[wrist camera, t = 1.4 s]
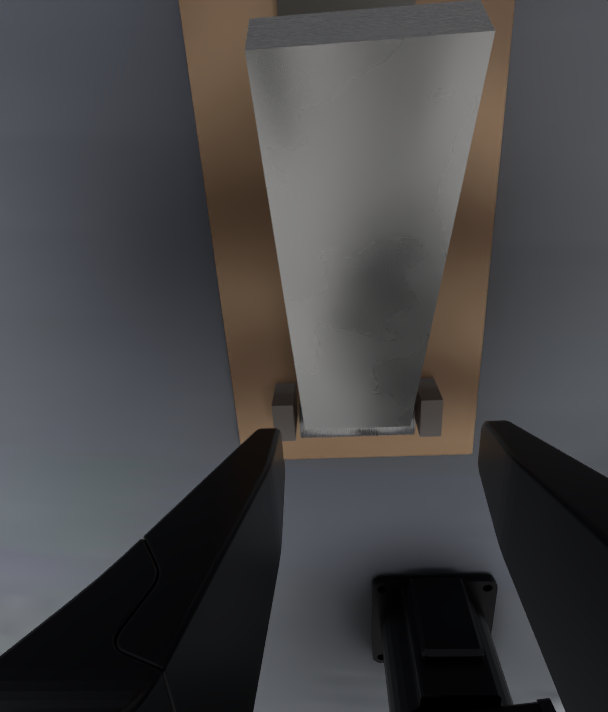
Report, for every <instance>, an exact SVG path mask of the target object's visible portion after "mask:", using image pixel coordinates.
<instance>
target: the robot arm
mask: <svg viewBox="0 0 608 712" xmlns="http://www.w3.org/2000/svg"><path fill="white" fill-rule="evenodd" d="M478 467H479V473H480V477H481V481H482V484H483V488H484V492H485V496H486V499H487V503H488V507H489V510H490V514H491V518H492V521H493V525H494V529H495V533H496V536H497V540H498V543H499V546H500V549H501V552H502V555H503V558H504V560H505V563H506V565H507V568H508V570H509V573H510V575H511V578H512V580H513V583H514V585H515V588H516V590H517V593H518V595H519V598H520V600H521V603H522V605H523V608H524V610H525V612H526V615H527V617H528V620H529V622H530V625H531V627H532V630H533V632H534V635H535V637H536V640H537V642H538V645H539V647H540V650H541V652H542V655H543V657H544V660H545V662H546V665H547V667H548V669H549V672H550V674H551V677H552V679H553V682H554V684H555V687H556V689H557V692H558V694H559V697H560V699H561V702H562V704H563V707H564V709H565V712H608V478H607V477H605V476H604V475H602V474H600V473H598V472H597V471H595V470H593V469H591V468H590V467H588V466H586V465H584V464H583V463H581V462H579V461H577V460H576V459H574V458H572V457H570V456H569V455H567V454H565V453H563V452H562V451H560V450H558V449H556V448H555V447H553V446H551V445H549V444H548V443H546V442H544V441H542V440H541V439H539V438H537V437H535V436H534V435H532V434H530V433H528V432H527V431H525V430H523V429H521V428H520V427H518V426H516V425H514V424H513V423H511V422H509V421H505V420H502V421H486V422H484V423H483V425H482V428H481V437H480V447H479V456H478ZM284 484H285V465H284V455H283V445H282V435H281V431H280V429H278V428H260V429H257V430H256V431H255V432H254V433H253V434H252V435H251V436H250V437H249V438H247V439H246V440H245V441H244V442H243V443H242V444H241V445H240V446H239V447H238V448H237V449H236V450H235V451H234V452H233V453H232V454H231V455H229V456H228V457H227V458H226V459H225V460H224V461H223V462H222V463H221V464H220V465H219V466H218V467H217V468H216V469H215V470H214V471H212V472H211V473H210V474H209V475H208V476H207V477H206V478H205V479H204V480H203V481H202V482H201V483H200V484H199V485H198V486H197V487H195V488H194V489H193V490H192V491H191V492H190V493H189V494H188V495H187V496H186V497H185V498H184V499H183V500H182V501H181V502H180V503H178V504H177V505H176V506H175V507H174V508H173V509H172V510H171V511H170V512H169V513H168V514H167V515H166V516H165V517H164V518H163V519H161V520H160V521H159V522H158V523H157V524H156V525H155V526H154V527H153V528H152V529H151V530H150V531H149V532H148V533H147V534H146V535H145V536H144V540H143V539H140V540H139V541H138V542H137V543H136V544H135V545H134V546H133V547H132V548H130V549H129V550H128V551H127V552H126V553H125V554H124V555H123V556H122V557H121V558H120V559H118V560H117V561H116V562H115V563H114V564H113V565H112V566H111V567H110V568H108V569H107V570H106V571H105V572H104V573H103V574H102V575H101V576H100V577H98V578H97V579H96V580H95V581H94V582H92V583H91V584H90V585H89V586H87V587H86V588H85V589H84V590H83V591H81V592H80V593H79V594H78V595H76V596H75V597H74V598H73V599H72V600H70V601H69V602H68V603H67V604H65V605H64V606H63V607H62V608H60V609H59V610H58V611H57V612H55V613H54V614H53V615H52V616H50V617H49V618H48V619H46V620H45V621H44V622H43V623H41V624H40V625H39V626H38V627H36V628H35V629H34V630H33V631H31V632H30V633H29V634H27V635H26V636H25V637H24V638H22V639H21V640H20V641H19V642H17V643H16V644H15V645H14V646H12V647H11V648H10V649H8V650H7V651H6V652H5V653H3V654H2V655H1V656H0V712H253V709H254V704H255V698H256V692H257V687H258V681H259V675H260V670H261V664H262V658H263V653H264V647H265V641H266V636H267V630H268V624H269V619H270V613H271V607H272V602H273V596H274V590H275V585H276V579H277V573H278V568H279V561H280V554H281V544H282V527H283V505H284ZM380 586H382V587H380ZM496 595H497V584H496V581H495V579H494V578H493V577H492V576H490V575H453V576H382V577H377V578H375V579H374V580H373V581H372V651H373V659H374V660H375V661H376V662H379V663H384V665H385V674H386V684H387V693H388V702H389V711H390V712H556V711H555V708H554V706H553V704H552V702H551V700H550V698H546V699H537V702H533V703H524V704H515V705H513V702H512V699H511V696H510V692H509V689H508V686H507V683H506V680H505V677H504V674H503V671H502V668H501V665H500V661H499V658H498V655H497V652H496V649H495V646H494V643H493V640H492V637H491V631H492V624H493V617H494V610H495V603H496Z"/></svg>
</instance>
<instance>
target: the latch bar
mask: <svg viewBox="0 0 608 712" xmlns="http://www.w3.org/2000/svg"><path fill="white" fill-rule="evenodd" d="M494 35H495V29H494V27H493V25H492V23H491V21H490V18H489V16H488V14H487V12H486V10H485V8H484V6H483V4H482V2H481V0H467V1H455V2H443V3H431V4H419V5H407V6H395V7H383V8H371V9H359V10H347V11H335V12H323V13H311V14H299V15H287V16H275V17H263V18H250V19H249V24H248V31H247V38H246V44H245V56H246V62H247V69H248V75H249V81H250V88H251V94H252V100H253V106H254V113H255V119H256V125H257V132H258V138H259V144H260V150H261V157H262V163H263V169H264V176H265V182H266V188H267V194H268V201H269V207H270V213H271V219H272V226H273V232H274V238H275V245H276V251H277V257H278V263H279V270H280V276H281V282H282V289H283V295H284V301H285V307H286V314H287V320H288V326H289V333H290V339H291V345H292V351H293V358H294V364H295V370H296V376H297V383H298V389H299V395H300V402H301V403H300V405H299V425H300V436H301V438H321V437H353V436H385V435H414V433H415V410H414V405H415V401H416V396H417V391H418V387H419V382H420V378H421V373H422V368H423V364H424V359H425V354H426V350H427V345H428V341H429V336H430V331H431V327H432V322H433V317H434V313H435V308H436V304H437V299H438V294H439V290H440V285H441V280H442V276H443V271H444V266H445V262H446V257H447V253H448V248H449V243H450V239H451V234H452V229H453V225H454V220H455V216H456V211H457V206H458V202H459V197H460V192H461V188H462V183H463V179H464V174H465V169H466V165H467V160H468V155H469V151H470V146H471V141H472V137H473V132H474V128H475V123H476V118H477V114H478V109H479V104H480V100H481V95H482V91H483V86H484V81H485V77H486V72H487V67H488V63H489V58H490V54H491V49H492V44H493V40H494Z"/></svg>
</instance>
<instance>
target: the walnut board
mask: <svg viewBox="0 0 608 712" xmlns="http://www.w3.org/2000/svg"><path fill="white" fill-rule="evenodd" d="M455 1H467V0H179V7H180V14H181V21H182V28H183V36H184V43H185V50H186V57H187V64H188V71H189V78H190V86H191V93H192V100H193V107H194V114H195V121H196V129H197V136H198V143H199V150H200V157H201V164H202V172H203V179H204V186H205V193H206V200H207V207H208V214H209V222H210V229H211V236H212V243H213V250H214V257H215V265H216V272H217V279H218V286H219V293H220V300H221V308H222V315H223V322H224V329H225V336H226V343H227V350H228V358H229V365H230V372H231V379H232V386H233V393H234V401H235V408H236V415H237V422H238V429H239V436H240V443H241V444H242V443H243V442H244V441H245V440H246V439H247V438H249V437H250V436H251V435H252V434H253V433H254V432H255V431H256V430H257V429H260V428H278V429H280V431H281V435H282V445H283V455H284V459H316V458H351V457H386V456H421V455H456V454H472V449H473V439H474V428H475V418H476V407H477V397H478V386H479V375H480V365H481V354H482V344H483V333H484V323H485V312H486V301H487V291H488V280H489V270H490V259H491V249H492V238H493V227H494V217H495V206H496V196H497V185H498V175H499V164H500V153H501V143H502V132H503V122H504V111H505V100H506V90H507V79H508V69H509V58H510V48H511V37H512V26H513V16H514V5H515V0H481V2H482V4H483V6H484V8H485V10H486V12H487V14H488V16H489V18H490V21H491V23H492V25H493V27H494V29H495V35H494V40H493V44H492V49H491V54H490V58H489V63H488V67H487V72H486V77H485V81H484V86H483V91H482V95H481V100H480V104H479V109H478V114H477V118H476V123H475V128H474V132H473V137H472V141H471V146H470V151H469V155H468V160H467V165H466V169H465V174H464V179H463V183H462V188H461V192H460V197H459V202H458V206H457V211H456V216H455V220H454V225H453V229H452V234H451V239H450V243H449V248H448V253H447V257H446V262H445V266H444V271H443V276H442V280H441V285H440V290H439V294H438V299H437V304H436V308H435V313H434V317H433V322H432V327H431V331H430V336H429V341H428V345H427V350H426V354H425V359H424V364H423V368H422V373H421V378H420V382H419V387H418V391H417V396H416V401H415V405H414V410H415V433H414V435H385V436H353V437H321V438H301V436H300V425H299V405H300V403H301V402H300V395H299V389H298V383H297V376H296V370H295V364H294V358H293V351H292V345H291V339H290V333H289V326H288V320H287V314H286V307H285V301H284V295H283V289H282V282H281V276H280V270H279V263H278V257H277V251H276V245H275V238H274V232H273V226H272V219H271V213H270V207H269V201H268V194H267V188H266V182H265V176H264V169H263V163H262V157H261V150H260V144H259V138H258V132H257V125H256V119H255V113H254V106H253V100H252V94H251V88H250V81H249V75H248V69H247V62H246V56H245V44H246V38H247V31H248V24H249V19H250V18H263V17H275V16H287V15H299V14H311V13H323V12H335V11H347V10H359V9H371V8H383V7H395V6H407V5H419V4H431V3H443V2H455Z"/></svg>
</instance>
